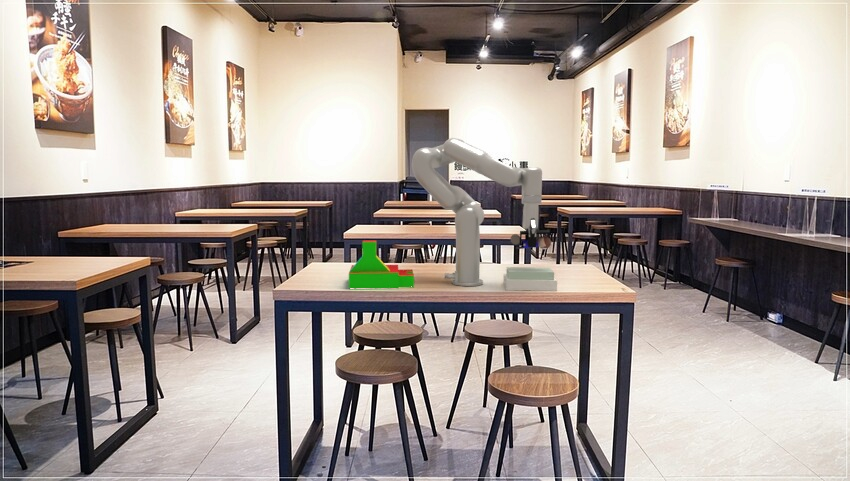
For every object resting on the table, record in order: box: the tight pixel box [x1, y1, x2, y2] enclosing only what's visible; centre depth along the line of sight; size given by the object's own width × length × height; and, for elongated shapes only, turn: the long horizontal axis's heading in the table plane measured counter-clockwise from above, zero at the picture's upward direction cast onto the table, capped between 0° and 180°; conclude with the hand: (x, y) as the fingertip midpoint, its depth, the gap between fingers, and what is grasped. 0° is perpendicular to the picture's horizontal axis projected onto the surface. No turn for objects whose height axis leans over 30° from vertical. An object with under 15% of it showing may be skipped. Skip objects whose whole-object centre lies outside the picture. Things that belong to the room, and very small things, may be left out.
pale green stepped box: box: [503, 266, 558, 292], centre depth 227 cm, size 19×13×7 cm
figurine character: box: [510, 229, 552, 250], centre depth 225 cm, size 7×8×15 cm
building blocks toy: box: [348, 239, 415, 289], centre depth 232 cm, size 19×25×18 cm
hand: (530, 245), depth 225 cm, fingers closed on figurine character, 6 cm apart
